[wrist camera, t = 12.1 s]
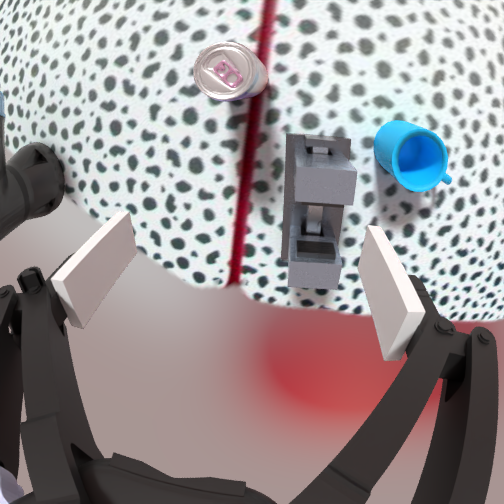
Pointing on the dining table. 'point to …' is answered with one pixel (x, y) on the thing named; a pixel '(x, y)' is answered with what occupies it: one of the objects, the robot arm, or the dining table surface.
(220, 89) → the beverage can
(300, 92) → the dining table surface
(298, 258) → the stepped metal block
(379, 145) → the mug
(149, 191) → the dining table surface
